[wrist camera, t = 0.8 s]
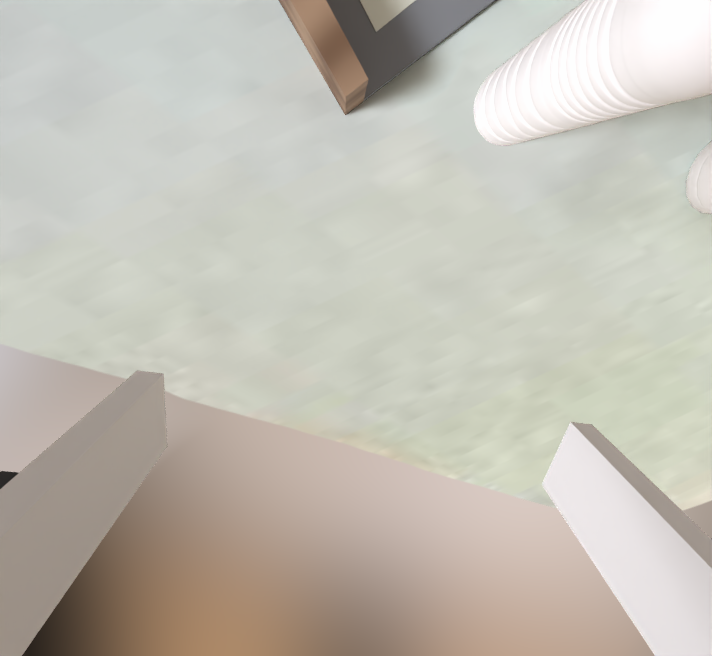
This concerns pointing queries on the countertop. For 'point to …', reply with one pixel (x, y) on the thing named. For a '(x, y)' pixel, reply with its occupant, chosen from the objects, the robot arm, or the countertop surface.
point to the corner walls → (329, 50)
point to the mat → (398, 31)
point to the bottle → (701, 181)
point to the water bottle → (599, 68)
